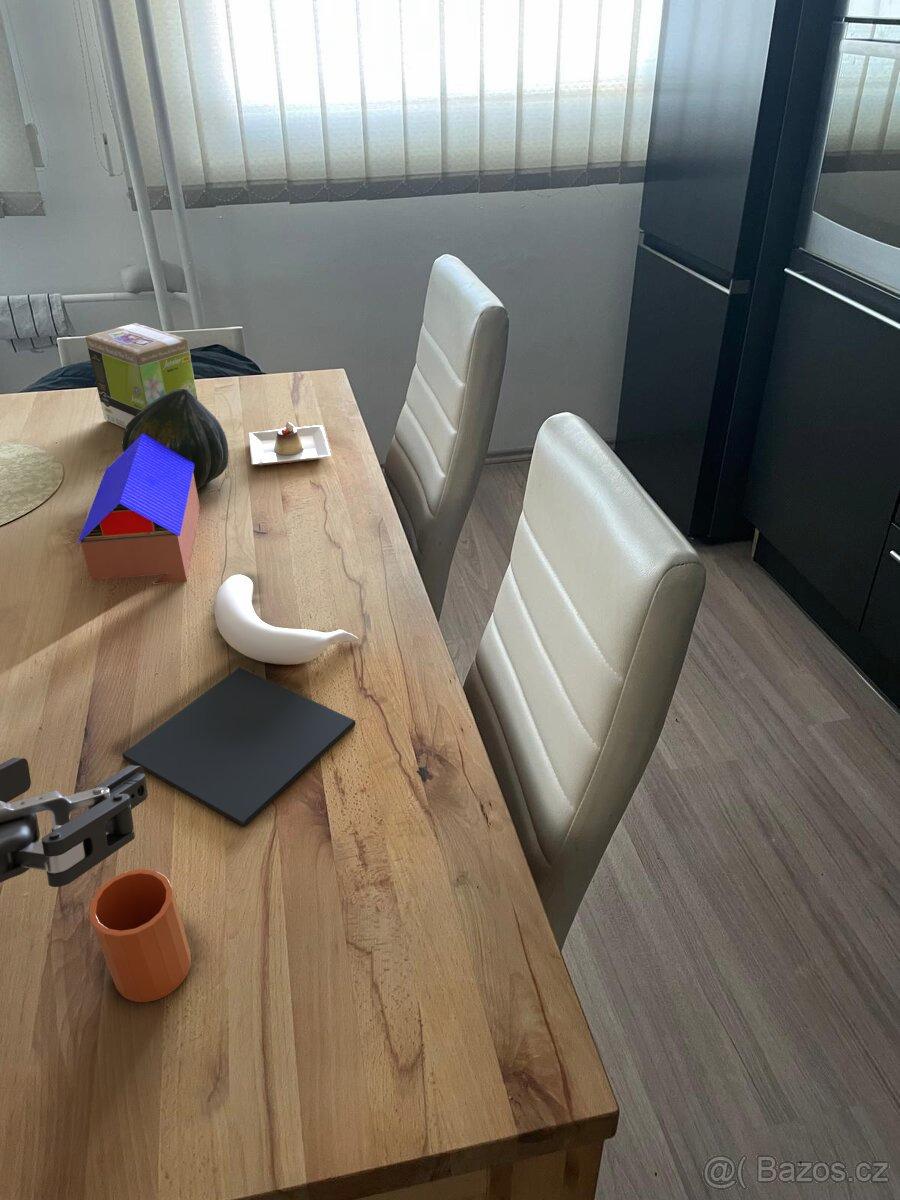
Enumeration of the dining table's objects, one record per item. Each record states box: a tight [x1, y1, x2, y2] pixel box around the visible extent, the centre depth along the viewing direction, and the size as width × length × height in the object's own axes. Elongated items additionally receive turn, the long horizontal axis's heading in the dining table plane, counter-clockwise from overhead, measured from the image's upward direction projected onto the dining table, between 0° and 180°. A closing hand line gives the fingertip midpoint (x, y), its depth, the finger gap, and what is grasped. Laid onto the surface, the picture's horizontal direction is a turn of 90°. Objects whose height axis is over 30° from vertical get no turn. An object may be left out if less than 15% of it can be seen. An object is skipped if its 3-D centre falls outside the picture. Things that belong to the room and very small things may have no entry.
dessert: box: [247, 421, 331, 466], centre depth 144 cm, size 12×12×5 cm
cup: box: [88, 868, 192, 1003], centre depth 68 cm, size 6×6×8 cm
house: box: [76, 433, 201, 585], centre depth 119 cm, size 12×20×12 cm, turn 8°
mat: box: [122, 666, 356, 828], centre depth 90 cm, size 16×16×1 cm
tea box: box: [85, 322, 199, 429], centre depth 151 cm, size 15×10×15 cm
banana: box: [214, 574, 360, 666], centre depth 106 cm, size 5×19×15 cm
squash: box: [121, 388, 230, 490], centre depth 133 cm, size 14×15×15 cm
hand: (81, 775), depth 57 cm, fingers open, 8 cm apart
